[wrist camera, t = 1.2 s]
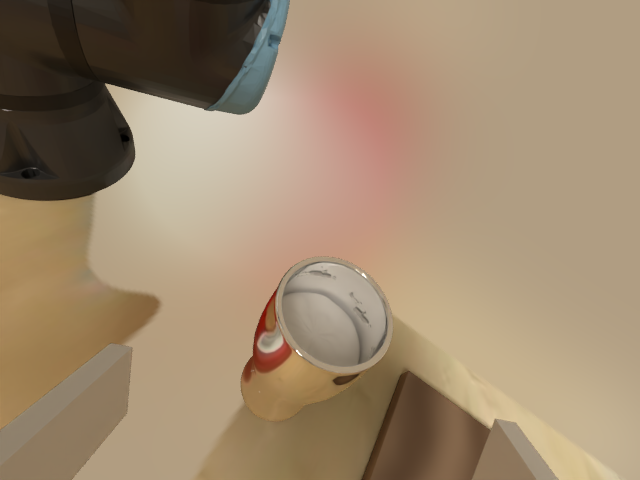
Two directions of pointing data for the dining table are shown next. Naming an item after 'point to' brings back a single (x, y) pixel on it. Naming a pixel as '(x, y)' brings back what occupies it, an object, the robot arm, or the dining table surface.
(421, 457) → the walnut board
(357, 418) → the dining table surface
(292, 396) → the silver metal tumbler
